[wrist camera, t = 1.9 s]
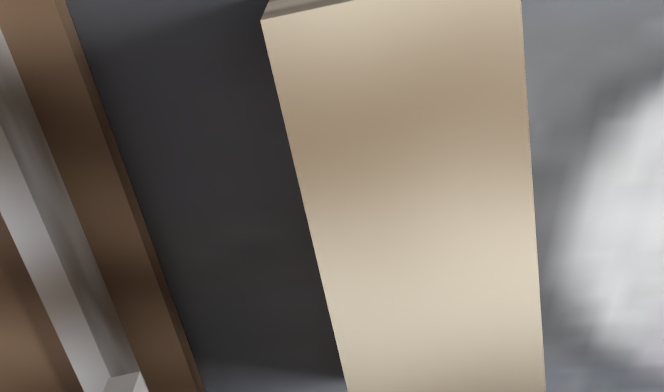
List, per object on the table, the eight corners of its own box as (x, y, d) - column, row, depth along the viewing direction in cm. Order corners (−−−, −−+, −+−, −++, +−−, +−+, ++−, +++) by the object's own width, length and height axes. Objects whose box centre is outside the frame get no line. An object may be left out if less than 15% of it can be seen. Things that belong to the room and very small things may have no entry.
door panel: (430, 363, 27) (566, 718, 14) (359, 378, 27) (432, 748, 14) (367, -29, 20) (518, -35, 7) (273, -9, 20) (260, 20, 7)
